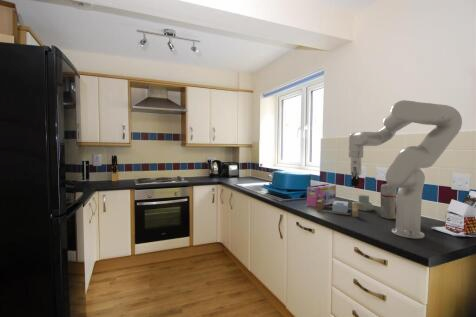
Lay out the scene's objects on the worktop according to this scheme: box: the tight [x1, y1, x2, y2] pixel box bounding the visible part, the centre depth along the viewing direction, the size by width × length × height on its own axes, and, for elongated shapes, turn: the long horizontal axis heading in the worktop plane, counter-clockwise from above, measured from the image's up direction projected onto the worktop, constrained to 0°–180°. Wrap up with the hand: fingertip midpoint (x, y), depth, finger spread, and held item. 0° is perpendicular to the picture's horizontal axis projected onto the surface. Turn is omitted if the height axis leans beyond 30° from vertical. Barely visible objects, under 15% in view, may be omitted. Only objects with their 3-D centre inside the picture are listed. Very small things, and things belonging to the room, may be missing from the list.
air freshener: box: [356, 194, 374, 212], centre depth 162 cm, size 11×8×10 cm
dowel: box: [351, 201, 359, 218], centre depth 144 cm, size 3×3×9 cm
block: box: [331, 200, 349, 213], centre depth 156 cm, size 12×8×5 cm, turn 153°
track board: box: [321, 205, 352, 216], centre depth 158 cm, size 15×19×2 cm
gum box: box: [306, 183, 337, 208], centre depth 177 cm, size 24×8×14 cm, turn 126°
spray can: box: [380, 182, 398, 220], centre depth 146 cm, size 8×8×20 cm
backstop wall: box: [315, 197, 325, 213], centre depth 161 cm, size 15×2×6 cm, turn 153°
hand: (355, 185), depth 145 cm, fingers open, 9 cm apart
